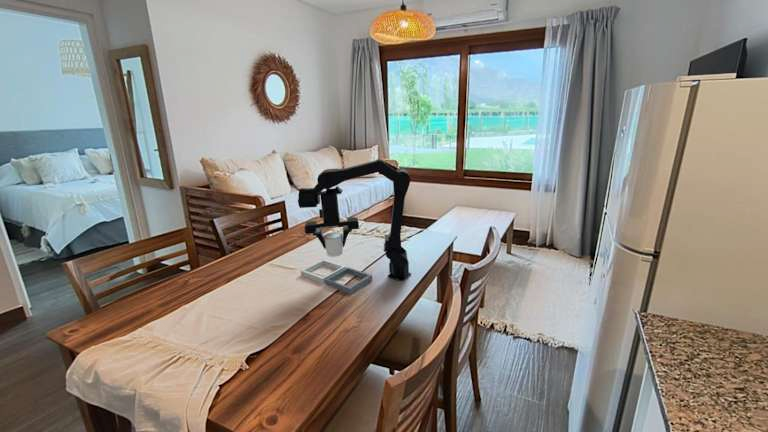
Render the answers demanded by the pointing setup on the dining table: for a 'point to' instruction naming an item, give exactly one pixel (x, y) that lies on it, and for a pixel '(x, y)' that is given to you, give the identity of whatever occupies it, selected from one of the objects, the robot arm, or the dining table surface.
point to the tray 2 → (347, 289)
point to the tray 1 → (317, 278)
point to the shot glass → (334, 244)
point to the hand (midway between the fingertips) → (334, 247)
